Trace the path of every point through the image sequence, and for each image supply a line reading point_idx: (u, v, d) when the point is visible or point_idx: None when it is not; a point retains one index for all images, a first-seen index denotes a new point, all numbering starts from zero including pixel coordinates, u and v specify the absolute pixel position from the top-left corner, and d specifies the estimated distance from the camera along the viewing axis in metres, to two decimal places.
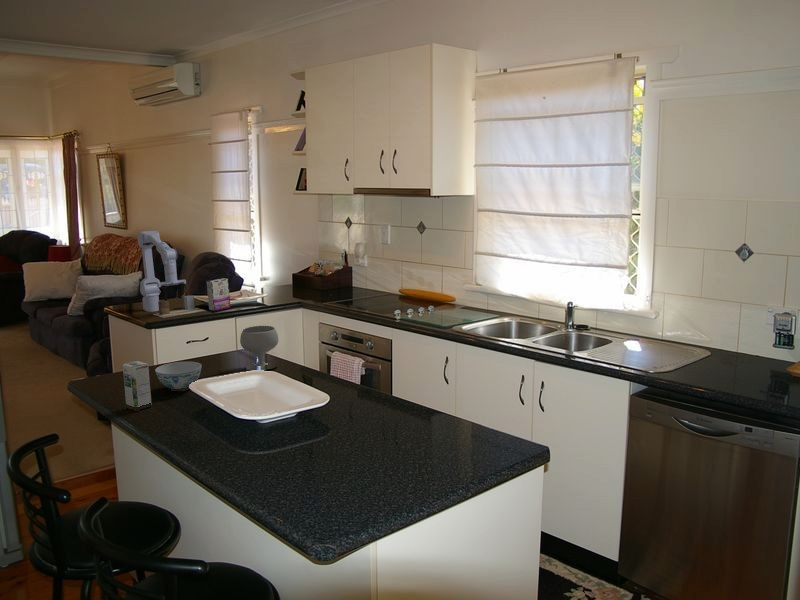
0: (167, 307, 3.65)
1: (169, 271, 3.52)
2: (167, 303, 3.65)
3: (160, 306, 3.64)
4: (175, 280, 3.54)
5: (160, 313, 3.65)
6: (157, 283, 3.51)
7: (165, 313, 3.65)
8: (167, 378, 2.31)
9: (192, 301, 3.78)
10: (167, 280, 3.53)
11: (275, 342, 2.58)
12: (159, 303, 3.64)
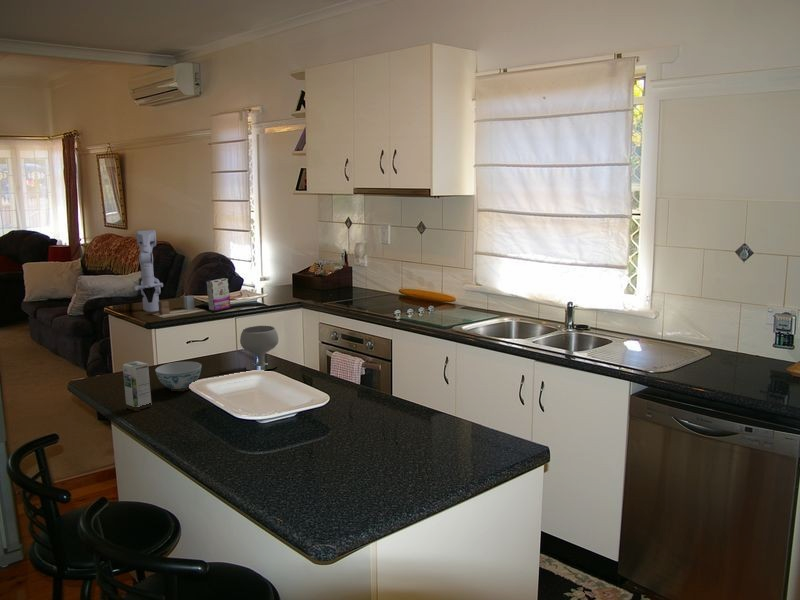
0: (167, 307, 3.65)
1: (144, 274, 3.55)
2: (167, 303, 3.65)
3: (160, 306, 3.64)
4: (152, 283, 3.57)
5: (160, 313, 3.65)
6: (134, 286, 3.54)
7: (165, 313, 3.65)
8: (167, 378, 2.31)
9: (192, 301, 3.78)
10: (144, 283, 3.56)
11: (275, 342, 2.58)
12: (159, 303, 3.64)
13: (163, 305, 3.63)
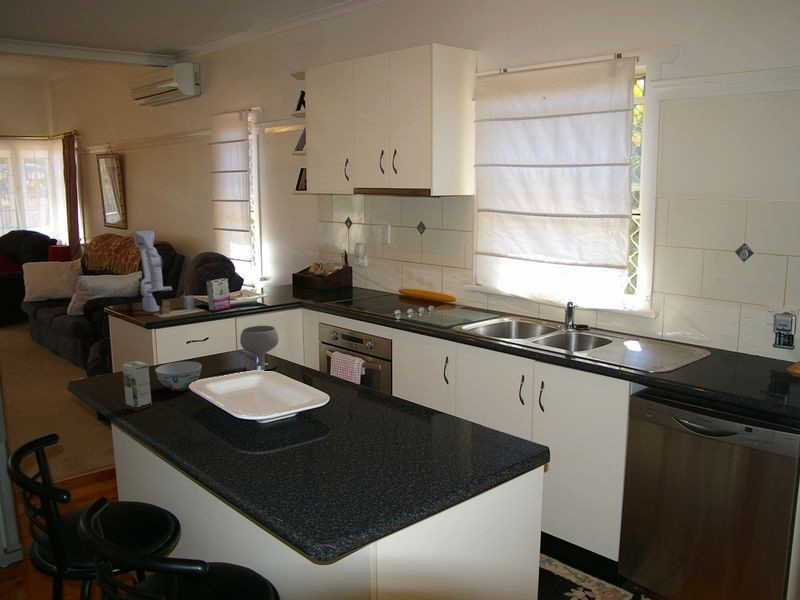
0: (168, 307, 3.65)
1: (154, 278, 3.58)
2: (168, 303, 3.65)
3: (161, 305, 3.64)
4: (161, 287, 3.61)
5: (160, 312, 3.65)
6: (143, 290, 3.58)
7: (165, 313, 3.65)
8: (167, 378, 2.31)
9: (192, 301, 3.78)
10: (153, 287, 3.59)
11: (275, 342, 2.58)
12: None
13: (164, 304, 3.64)
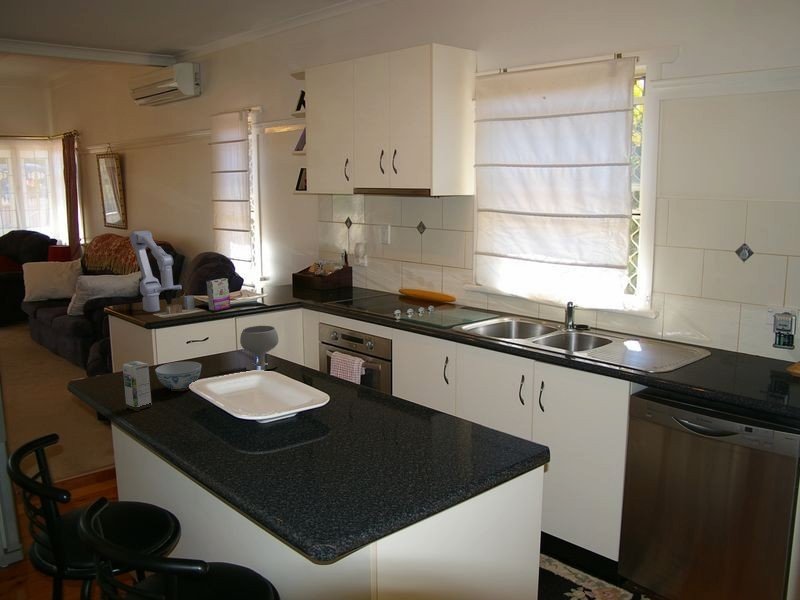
0: (176, 311, 3.69)
1: (166, 277, 3.62)
2: (180, 311, 3.70)
3: (176, 305, 3.70)
4: (171, 285, 3.64)
5: (168, 306, 3.68)
6: (153, 288, 3.61)
7: (171, 309, 3.66)
8: (167, 378, 2.31)
9: (192, 301, 3.78)
10: (163, 285, 3.63)
11: (275, 342, 2.58)
12: (178, 304, 3.71)
13: (178, 307, 3.69)
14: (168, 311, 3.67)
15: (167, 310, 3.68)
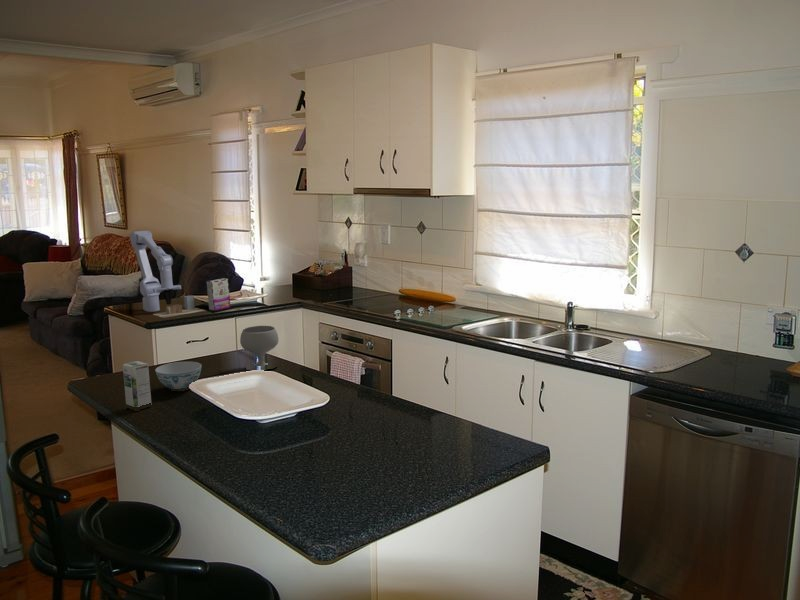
0: (176, 311, 3.69)
1: (165, 277, 3.62)
2: (180, 311, 3.70)
3: (176, 305, 3.70)
4: (171, 285, 3.64)
5: (168, 306, 3.68)
6: (153, 288, 3.61)
7: (171, 309, 3.66)
8: (167, 378, 2.31)
9: (192, 301, 3.78)
10: (163, 286, 3.63)
11: (275, 342, 2.58)
12: (178, 304, 3.71)
13: (178, 307, 3.69)
14: (168, 311, 3.67)
15: (167, 310, 3.68)
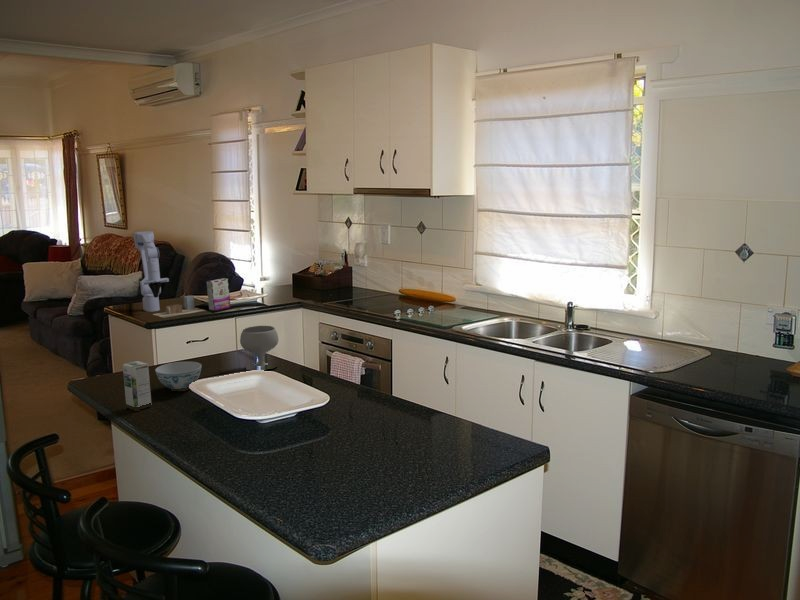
0: (176, 311, 3.69)
1: (150, 269, 3.58)
2: (180, 311, 3.70)
3: (176, 305, 3.70)
4: (158, 278, 3.61)
5: (168, 306, 3.68)
6: (140, 281, 3.57)
7: (171, 309, 3.66)
8: (167, 378, 2.31)
9: (192, 301, 3.78)
10: (150, 278, 3.59)
11: (275, 342, 2.58)
12: (178, 304, 3.71)
13: (178, 307, 3.69)
14: (168, 311, 3.67)
15: (167, 310, 3.68)
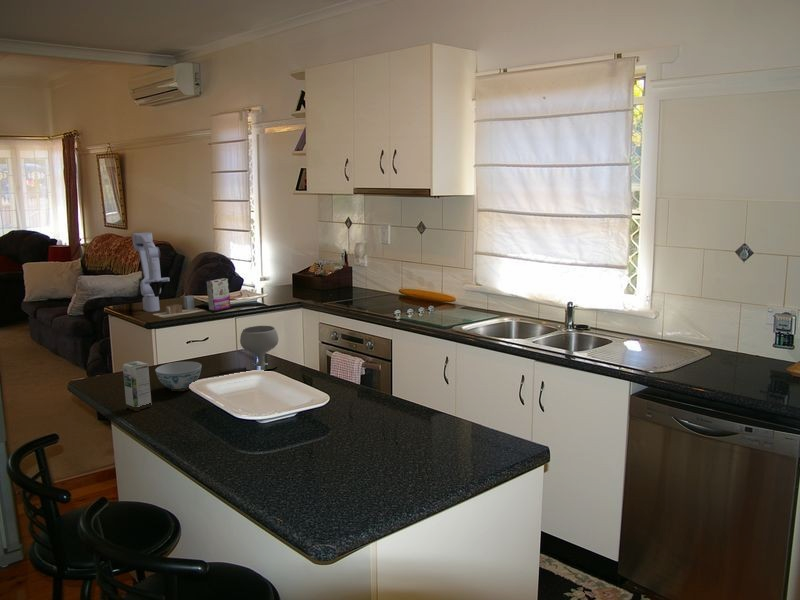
0: (176, 311, 3.69)
1: (151, 269, 3.60)
2: (180, 311, 3.70)
3: (176, 305, 3.70)
4: (159, 277, 3.62)
5: (168, 306, 3.68)
6: None
7: (171, 309, 3.66)
8: (167, 378, 2.31)
9: (192, 301, 3.78)
10: (151, 277, 3.61)
11: (275, 342, 2.58)
12: (178, 304, 3.71)
13: (178, 307, 3.69)
14: (168, 311, 3.67)
15: (167, 310, 3.68)
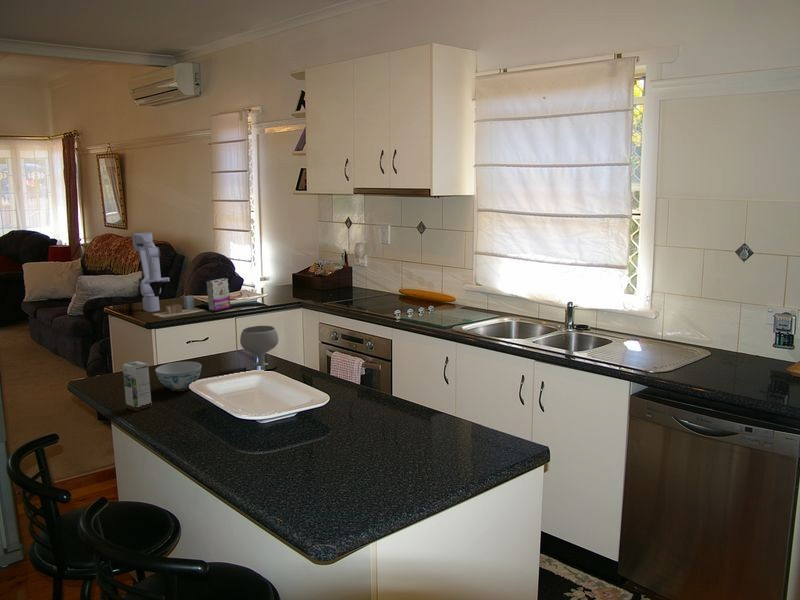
0: (176, 311, 3.69)
1: (151, 269, 3.60)
2: (180, 311, 3.70)
3: (176, 305, 3.70)
4: (159, 277, 3.62)
5: (168, 306, 3.68)
6: None
7: (171, 309, 3.66)
8: (167, 378, 2.31)
9: (192, 301, 3.78)
10: (151, 277, 3.61)
11: (275, 342, 2.58)
12: (178, 304, 3.71)
13: (178, 307, 3.69)
14: (168, 311, 3.67)
15: (167, 310, 3.68)
